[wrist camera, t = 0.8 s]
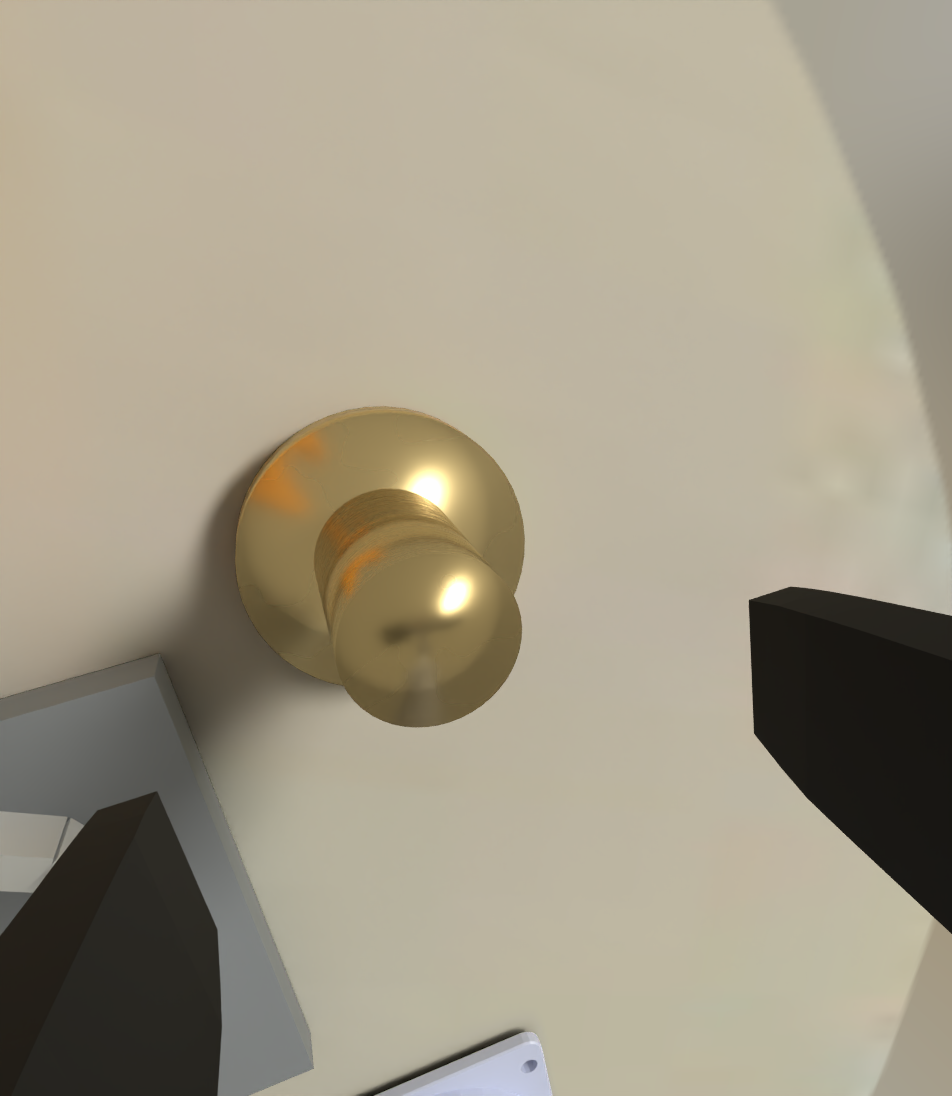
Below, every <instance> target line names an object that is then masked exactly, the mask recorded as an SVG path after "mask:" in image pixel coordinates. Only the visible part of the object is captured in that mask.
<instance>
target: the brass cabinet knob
mask: <svg viewBox="0 0 952 1096" xmlns="http://www.w3.org/2000/svg"><path fill="white" fill-rule="evenodd" d="M524 543H525V537H524V527H523V519H522V515H521V511H520V507H519V503H518V501H517V498H516V496H515V493H514V490H513V488H512V486H511V485H510V483H509V481H508V479H507V477H506V476H505V474H504V472H503V471H502V470H501V468H500V467H499V466H498V464H497V463H496V462H495V460H494V459H493V458H492V457H491V456H490V455H489V454H488V453H487V452H486V451H485V450H484V449H483V448H482V447H481V446H480V445H478V444H477V443H476V442H474V441H473V440H472V439H470V438H469V437H468V436H466V435H465V434H463V433H462V432H460V431H459V430H457V429H456V428H454V427H452V426H450V425H449V424H447V423H445V422H443V421H441V420H440V419H437V418H435V417H432V416H430V415H427V414H424V413H421V412H417V411H413V410H409V409H405V408H396V407H386V406H384V407H364V408H358V409H352V410H346V411H343V412H340V413H336V414H333V415H330V416H327V417H325V418H323V419H321V420H318V421H316V422H314V423H312V424H310V425H308V426H307V427H305V428H304V429H302V430H300V431H299V432H297V433H296V434H294V435H293V436H292V437H290V438H289V439H288V440H287V441H285V442H284V443H283V444H282V445H281V446H279V447H278V448H277V450H276V451H275V452H274V453H273V454H272V455H271V456H270V457H269V458H268V459H267V460H266V462H265V463H264V464H263V466H262V467H261V469H260V470H259V472H258V473H257V475H256V476H255V477H254V479H253V481H252V483H251V485H250V487H249V489H248V491H247V493H246V496H245V499H244V502H243V505H242V507H241V510H240V514H239V520H238V525H237V531H236V552H235V567H236V577H237V584H238V588H239V591H240V595H241V599H242V602H243V604H244V607H245V609H246V611H247V614H248V616H249V618H250V620H251V621H252V623H253V625H254V626H255V628H256V630H257V631H258V633H259V634H260V635H261V636H262V638H263V639H264V640H265V641H266V642H267V644H268V645H269V646H270V647H271V648H272V649H273V650H274V651H275V652H276V653H277V654H279V655H280V656H281V657H282V658H283V659H284V660H286V661H287V662H289V663H290V664H292V665H293V666H294V667H296V668H297V669H299V670H301V671H303V672H305V673H307V674H309V675H311V676H313V677H315V678H318V679H321V680H324V681H327V682H329V683H333V684H338V685H342V686H344V687H345V689H346V691H347V692H348V694H349V695H350V696H351V698H352V699H353V700H354V701H355V702H356V703H357V704H358V705H359V706H360V707H361V708H362V709H363V710H365V711H366V712H368V713H369V714H371V715H372V716H374V717H376V718H378V719H380V720H382V721H385V722H388V723H391V724H394V725H399V726H404V727H430V726H436V725H441V724H445V723H448V722H451V721H454V720H457V719H459V718H462V717H463V716H465V715H467V714H469V713H471V712H473V711H474V710H476V709H477V708H479V707H480V706H482V705H483V704H484V703H485V702H486V701H488V700H489V699H490V698H491V697H492V696H493V695H494V694H495V693H496V692H497V691H498V690H499V689H500V687H501V686H502V685H503V683H504V682H505V681H506V679H507V677H508V676H509V674H510V672H511V671H512V669H513V666H514V664H515V662H516V659H517V656H518V653H519V650H520V644H521V638H522V624H521V616H520V612H519V608H518V605H517V602H516V600H515V597H514V593H515V591H516V589H517V585H518V582H519V579H520V575H521V571H522V565H523V559H524Z"/></svg>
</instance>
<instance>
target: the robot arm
mask: <svg viewBox="0 0 952 1096" xmlns="http://www.w3.org/2000/svg"><path fill="white" fill-rule="evenodd" d="M749 617H750V642H751V668H752V693H753V718H754V734H755V735H756V737H757V738H758V739H759V740H760V742H761V743H762V744H763V745H764V747H765V748H766V749H767V750H768V752H769V753H770V754H771V755H772V757H773V758H774V759H775V760H776V762H777V763H778V764H779V766H780V767H781V768H782V769H783V770H784V772H785V773H786V774H787V775H788V776H789V777H790V779H791V780H792V781H793V782H794V783H795V784H796V786H797V787H798V788H799V789H800V790H801V791H802V793H803V794H804V795H805V796H806V797H807V798H808V799H809V800H810V801H811V802H812V803H813V804H814V805H815V806H816V807H817V808H818V809H819V810H820V811H821V812H822V813H823V814H824V815H825V816H826V817H827V818H828V819H829V820H831V821H832V822H833V823H834V824H835V825H836V826H837V827H838V828H839V829H840V830H841V831H842V832H843V833H844V834H845V835H846V836H847V837H848V838H849V839H851V840H852V841H853V842H854V843H855V844H856V845H857V846H858V847H859V848H860V849H861V850H862V851H863V852H864V853H865V854H867V855H868V856H869V857H870V858H871V859H872V860H873V861H874V862H875V863H876V864H877V865H878V866H879V867H880V868H882V869H883V870H884V871H885V872H886V873H887V874H888V875H889V876H890V877H891V878H892V879H893V880H894V881H896V882H897V883H898V884H899V885H900V886H901V887H902V888H903V889H904V890H905V891H906V892H907V893H908V894H910V895H911V896H912V897H913V898H914V899H915V900H916V901H917V902H918V903H919V904H920V905H921V906H922V907H923V908H925V909H926V910H927V911H928V912H929V913H930V914H931V915H932V916H933V917H934V918H935V919H936V920H937V921H939V922H940V923H941V924H942V925H943V926H944V927H945V928H946V929H947V930H948V931H949V932H950V933H951V934H952V616H950V615H945V614H940V613H935V612H931V611H926V610H921V609H916V608H911V607H906V606H901V605H897V604H892V603H887V602H882V601H877V600H872V599H867V598H862V597H857V596H851V595H846V594H841V593H835V592H829V591H823V590H816V589H809V588H799V587H788V588H785V589H782V590H779V591H776V592H773V593H770V594H766V595H763V596H760V597H757V598H754V599H751V600H749ZM221 1035H222V1012H221V983H220V965H219V947H218V930H217V927H216V925H215V922H214V920H213V918H212V916H211V913H210V911H209V909H208V906H207V904H206V902H205V900H204V897H203V895H202V893H201V890H200V888H199V886H198V884H197V881H196V879H195V877H194V874H193V872H192V870H191V868H190V865H189V863H188V861H187V858H186V856H185V854H184V851H183V849H182V847H181V845H180V842H179V840H178V838H177V835H176V833H175V831H174V829H173V826H172V824H171V822H170V819H169V817H168V815H167V813H166V810H165V808H164V806H163V803H162V801H161V799H160V796H159V794H158V792H157V791H156V792H153V793H149V794H146V795H143V796H140V797H137V798H134V799H131V800H128V801H125V802H122V803H118V804H115V805H112V806H109V807H106V808H103V809H100V810H97V811H96V812H95V814H94V815H93V816H92V817H91V818H90V819H89V821H88V822H87V823H86V824H85V825H84V827H83V828H82V829H81V830H80V832H79V833H78V834H77V836H76V837H75V838H74V839H73V841H72V842H71V843H70V845H69V846H68V847H67V849H66V850H65V851H64V852H63V854H62V855H61V856H60V858H59V859H58V860H57V862H56V863H55V864H54V866H53V867H52V868H51V870H50V871H49V872H48V874H47V875H46V876H45V878H44V879H43V880H42V882H41V883H40V884H39V886H38V887H37V888H36V890H35V891H34V892H33V894H32V895H31V896H30V898H29V899H28V900H27V902H26V903H25V904H24V905H23V907H22V908H21V909H20V911H19V912H18V913H17V915H16V916H15V917H14V919H13V920H12V921H11V922H10V924H9V925H8V926H7V928H6V929H5V930H4V932H3V933H2V934H1V935H0V1096H218V1081H219V1066H220V1051H221ZM374 1096H552V1091H551V1087H550V1082H549V1078H548V1073H547V1069H546V1064H545V1059H544V1055H543V1050H542V1046H541V1044H540V1041H539V1039H538V1037H537V1035H536V1034H535V1033H533V1032H522V1033H519V1034H517V1035H514V1036H512V1037H510V1038H507V1039H505V1040H503V1041H500V1042H498V1043H496V1044H493V1045H491V1046H489V1047H486V1048H484V1049H482V1050H479V1051H477V1052H475V1053H472V1054H470V1055H468V1056H465V1057H463V1058H461V1059H458V1060H456V1061H454V1062H451V1063H449V1064H447V1065H444V1066H442V1067H440V1068H437V1069H435V1070H433V1071H430V1072H428V1073H426V1074H423V1075H421V1076H419V1077H416V1078H414V1079H412V1080H409V1081H407V1082H405V1083H402V1084H400V1085H398V1086H395V1087H393V1088H391V1089H388V1090H386V1091H384V1092H381V1093H379V1094H377V1095H374Z"/></svg>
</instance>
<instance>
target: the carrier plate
mask: <svg viewBox="0 0 952 1096" xmlns="http://www.w3.org/2000/svg"><path fill="white" fill-rule="evenodd" d="M156 791H157V792H158V794H159V796H160V799H161V801H162V803H163V806H164V808H165V810H166V813H167V815H168V817H169V819H170V822H171V824H172V826H173V829H174V831H175V833H176V835H177V838H178V840H179V842H180V845H181V847H182V849H183V851H184V854H185V856H186V858H187V861H188V863H189V865H190V868H191V870H192V872H193V874H194V877H195V879H196V881H197V884H198V886H199V888H200V890H201V893H202V895H203V897H204V900H205V902H206V904H207V906H208V909H209V911H210V913H211V916H212V918H213V920H214V922H215V925H216V927H217V930H218V947H219V965H220V983H221V1012H222V1035H221V1051H220V1066H219V1081H218V1096H249V1095H251V1094H253V1093H256V1092H258V1091H261V1090H263V1089H265V1088H268V1087H270V1086H273V1085H275V1084H278V1083H280V1082H282V1081H285V1080H287V1079H290V1078H292V1077H294V1076H297V1075H299V1074H302V1073H304V1072H307V1071H309V1070H311V1069H314V1068H313V1056H312V1044H311V1033H310V1030H309V1028H308V1025H307V1023H306V1020H305V1018H304V1015H303V1013H302V1010H301V1008H300V1005H299V1003H298V1000H297V998H296V995H295V993H294V990H293V987H292V985H291V982H290V980H289V977H288V975H287V972H286V970H285V967H284V965H283V962H282V960H281V957H280V955H279V952H278V950H277V947H276V945H275V942H274V940H273V937H272V935H271V932H270V930H269V927H268V925H267V922H266V920H265V917H264V914H263V912H262V909H261V907H260V904H259V902H258V899H257V897H256V894H255V892H254V889H253V887H252V884H251V882H250V879H249V877H248V874H247V872H246V869H245V867H244V864H243V862H242V859H241V857H240V854H239V852H238V849H237V847H236V844H235V841H234V839H233V836H232V834H231V831H230V829H229V826H228V824H227V821H226V819H225V816H224V814H223V811H222V809H221V806H220V804H219V801H218V799H217V796H216V794H215V791H214V789H213V786H212V784H211V781H210V779H209V776H208V774H207V771H206V768H205V766H204V763H203V761H202V758H201V756H200V753H199V751H198V748H197V746H196V743H195V741H194V738H193V736H192V733H191V731H190V728H189V726H188V723H187V721H186V718H185V716H184V713H183V711H182V708H181V706H180V703H179V701H178V698H177V695H176V693H175V690H174V688H173V685H172V683H171V680H170V678H169V675H168V673H167V670H166V668H165V665H164V663H163V660H162V658H161V655H160V653H159V654H156V655H152V656H149V657H145V658H142V659H138V660H135V661H131V662H128V663H124V664H121V665H117V666H114V667H110V668H107V669H103V670H100V671H96V672H93V673H89V674H86V675H82V676H79V677H75V678H72V679H68V680H65V681H61V682H58V683H54V684H51V685H47V686H44V687H40V688H37V689H33V690H30V691H26V692H23V693H20V694H16V695H13V696H9V697H6V698H2V699H0V935H1V934H2V933H3V932H4V930H5V929H6V928H7V926H8V925H9V924H10V922H11V921H12V920H13V919H14V917H15V916H16V915H17V913H18V912H19V911H20V909H21V908H22V907H23V905H24V904H25V903H26V902H27V900H28V899H29V898H30V896H31V895H32V894H33V892H34V891H35V890H36V888H37V887H38V886H39V884H40V883H41V882H42V880H43V879H44V878H45V876H46V875H47V874H48V872H49V871H50V870H51V868H52V867H53V866H54V864H55V863H56V862H57V860H58V859H59V858H60V856H61V855H62V854H63V852H64V851H65V850H66V849H67V847H68V846H69V845H70V843H71V842H72V841H73V839H74V838H75V837H76V836H77V834H78V833H79V832H80V830H81V829H82V828H83V827H84V825H85V824H86V823H87V822H88V821H89V819H90V818H91V817H92V816H93V815H94V814H95V812H96V811H97V810H100V809H103V808H106V807H109V806H112V805H115V804H118V803H122V802H125V801H128V800H131V799H134V798H137V797H140V796H143V795H146V794H149V793H153V792H156Z"/></svg>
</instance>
